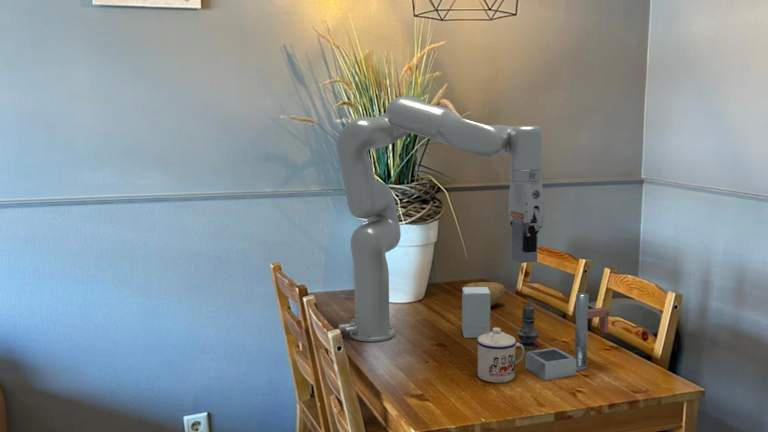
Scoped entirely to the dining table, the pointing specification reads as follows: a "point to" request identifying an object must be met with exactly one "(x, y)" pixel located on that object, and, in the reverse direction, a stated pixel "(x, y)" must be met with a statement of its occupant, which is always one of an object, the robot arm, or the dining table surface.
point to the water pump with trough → (564, 365)
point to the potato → (491, 290)
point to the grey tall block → (520, 240)
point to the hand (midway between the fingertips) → (524, 249)
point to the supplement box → (475, 311)
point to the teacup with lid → (497, 356)
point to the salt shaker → (528, 328)
